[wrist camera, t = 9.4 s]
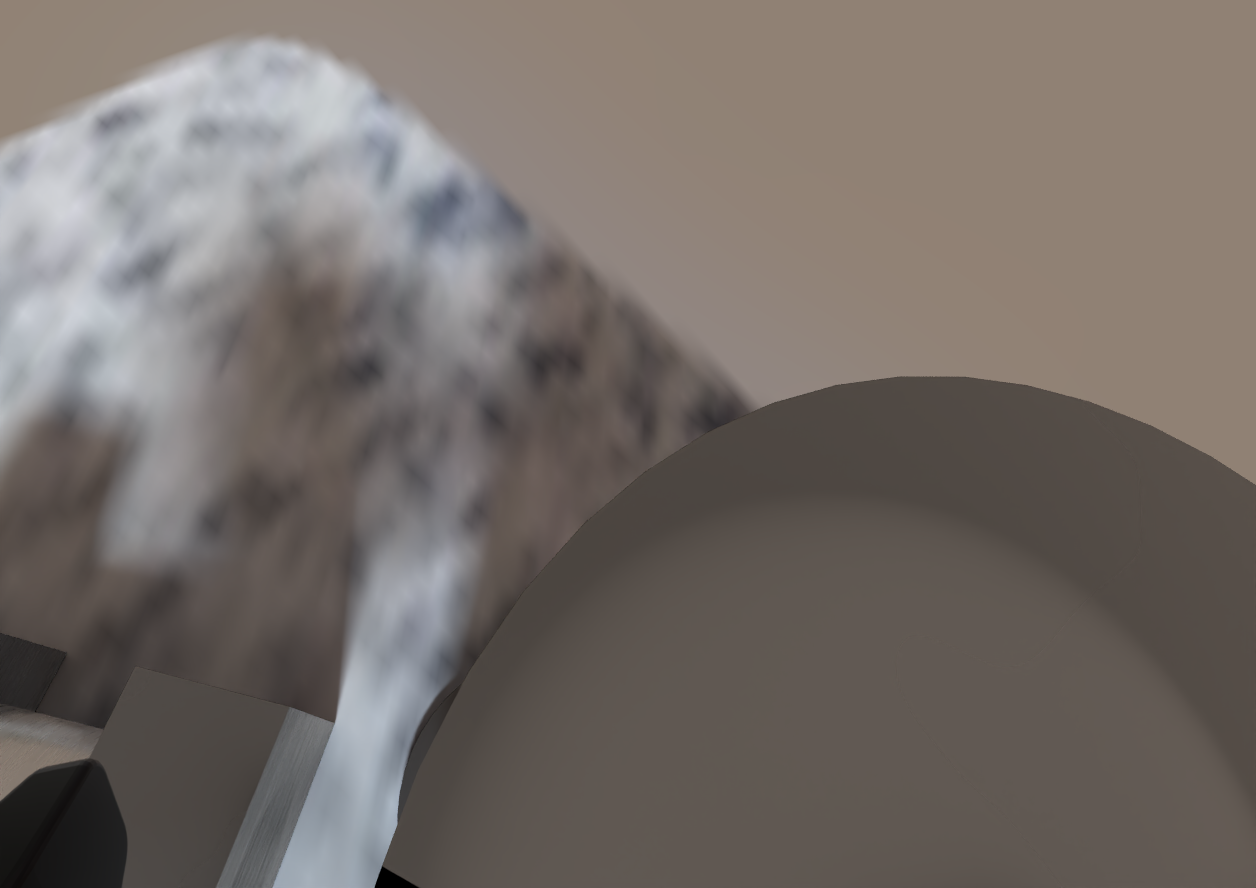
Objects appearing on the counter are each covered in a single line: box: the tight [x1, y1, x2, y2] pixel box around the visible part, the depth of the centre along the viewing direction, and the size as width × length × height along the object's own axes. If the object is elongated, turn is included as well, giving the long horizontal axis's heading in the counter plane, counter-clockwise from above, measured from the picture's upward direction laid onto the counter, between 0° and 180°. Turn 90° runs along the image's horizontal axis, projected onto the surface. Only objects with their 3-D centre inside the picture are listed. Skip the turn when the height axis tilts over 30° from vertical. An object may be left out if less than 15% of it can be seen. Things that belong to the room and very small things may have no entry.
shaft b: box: [0, 633, 335, 888], centre depth 11 cm, size 7×4×4 cm, turn 77°
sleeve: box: [375, 377, 1256, 888], centre depth 8 cm, size 5×5×13 cm
